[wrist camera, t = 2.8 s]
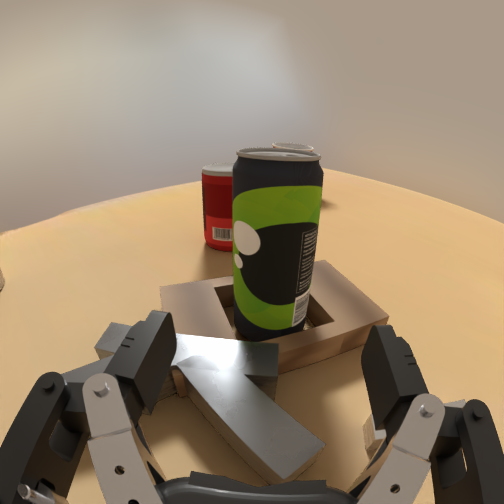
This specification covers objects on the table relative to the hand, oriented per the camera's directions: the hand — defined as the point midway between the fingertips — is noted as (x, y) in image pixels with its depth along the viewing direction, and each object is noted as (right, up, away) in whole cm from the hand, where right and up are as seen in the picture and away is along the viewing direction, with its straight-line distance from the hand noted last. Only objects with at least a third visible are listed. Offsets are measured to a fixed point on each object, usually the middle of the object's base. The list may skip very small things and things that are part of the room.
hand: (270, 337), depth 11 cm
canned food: (-4, +5, +31) cm, 31 cm away
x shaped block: (-6, -7, +5) cm, 11 cm away
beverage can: (+1, -4, +14) cm, 15 cm away
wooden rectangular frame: (+1, -3, +14) cm, 14 cm away
